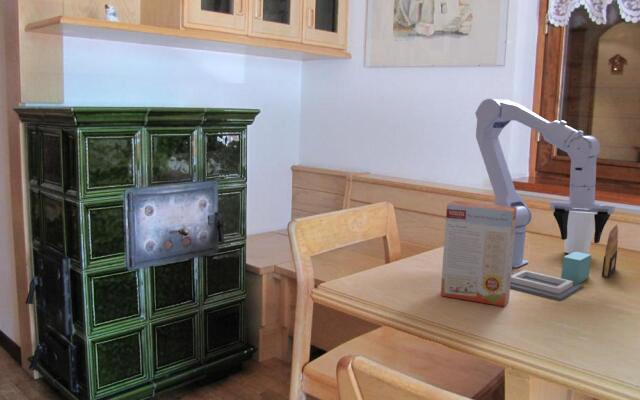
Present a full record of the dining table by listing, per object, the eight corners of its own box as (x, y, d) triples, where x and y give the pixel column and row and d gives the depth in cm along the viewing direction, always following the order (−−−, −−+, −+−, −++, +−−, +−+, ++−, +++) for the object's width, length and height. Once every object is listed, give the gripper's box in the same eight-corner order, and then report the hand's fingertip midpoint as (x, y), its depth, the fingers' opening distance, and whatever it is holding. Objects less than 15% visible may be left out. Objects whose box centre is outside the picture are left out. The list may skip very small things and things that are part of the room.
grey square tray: (497, 284, 146) (497, 277, 146) (522, 273, 157) (523, 266, 156) (560, 300, 137) (561, 292, 136) (582, 287, 147) (583, 280, 147)
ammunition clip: (609, 277, 156) (615, 231, 154) (601, 276, 157) (607, 230, 155) (615, 268, 165) (620, 224, 163) (607, 267, 166) (613, 223, 164)
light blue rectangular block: (560, 280, 152) (563, 256, 151) (572, 274, 158) (575, 251, 157) (577, 284, 150) (580, 260, 149) (588, 277, 156) (591, 254, 155)
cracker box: (509, 300, 136) (518, 206, 132) (504, 308, 130) (513, 210, 127) (446, 289, 142) (453, 199, 138) (439, 296, 136) (446, 203, 133)
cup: (562, 247, 186) (567, 204, 184) (598, 253, 180) (603, 209, 178) (553, 253, 178) (558, 209, 176) (590, 260, 172) (595, 214, 170)
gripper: (546, 185, 152) (545, 240, 154) (610, 188, 143) (607, 246, 145) (556, 183, 157) (554, 235, 159) (617, 186, 148) (615, 242, 150)
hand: (580, 240), depth 152 cm, fingers open, 7 cm apart
